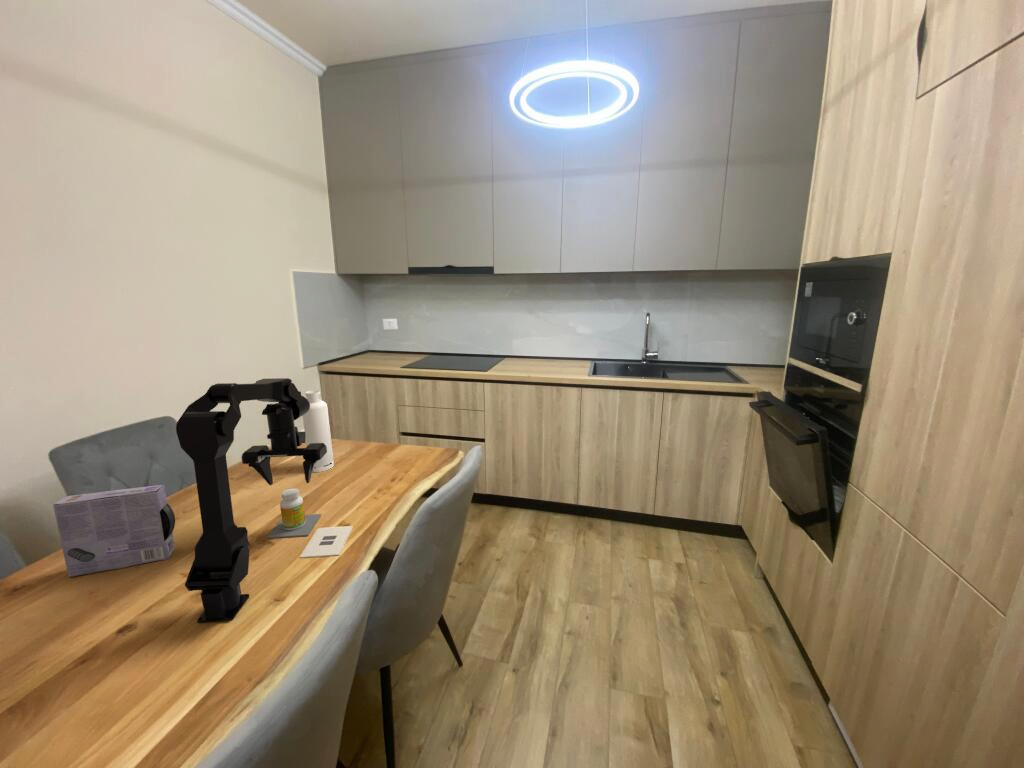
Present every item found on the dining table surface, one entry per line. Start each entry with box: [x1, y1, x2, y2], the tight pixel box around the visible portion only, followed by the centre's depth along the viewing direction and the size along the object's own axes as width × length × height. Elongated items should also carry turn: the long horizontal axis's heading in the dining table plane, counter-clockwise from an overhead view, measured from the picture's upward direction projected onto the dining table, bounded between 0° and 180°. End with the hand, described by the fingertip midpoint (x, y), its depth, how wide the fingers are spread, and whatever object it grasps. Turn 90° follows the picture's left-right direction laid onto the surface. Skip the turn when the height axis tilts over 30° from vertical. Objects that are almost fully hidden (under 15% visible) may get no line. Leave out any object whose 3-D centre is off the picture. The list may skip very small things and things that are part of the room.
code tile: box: [299, 525, 354, 559], centre depth 102 cm, size 12×9×1 cm
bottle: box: [301, 389, 335, 473], centre depth 142 cm, size 8×8×28 cm
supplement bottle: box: [279, 488, 306, 530], centre depth 107 cm, size 5×5×10 cm
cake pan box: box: [52, 484, 176, 578], centre depth 93 cm, size 19×5×18 cm, turn 111°
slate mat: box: [266, 513, 322, 540], centre depth 109 cm, size 10×10×1 cm
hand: (289, 483), depth 106 cm, fingers open, 9 cm apart
